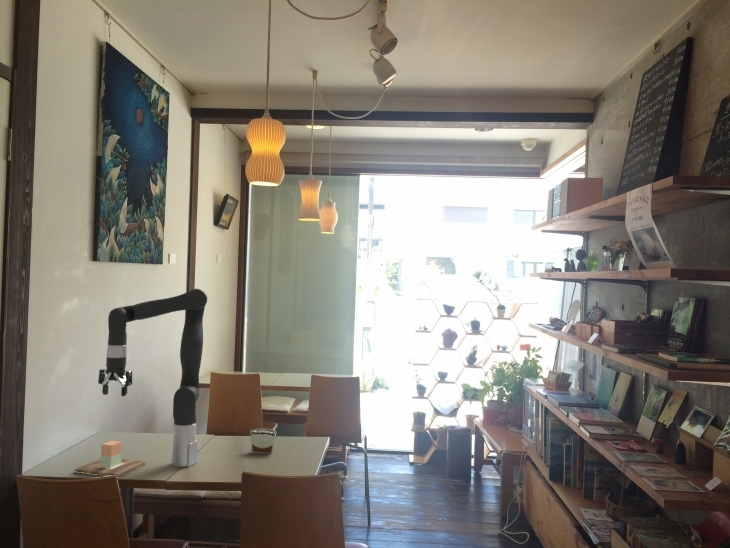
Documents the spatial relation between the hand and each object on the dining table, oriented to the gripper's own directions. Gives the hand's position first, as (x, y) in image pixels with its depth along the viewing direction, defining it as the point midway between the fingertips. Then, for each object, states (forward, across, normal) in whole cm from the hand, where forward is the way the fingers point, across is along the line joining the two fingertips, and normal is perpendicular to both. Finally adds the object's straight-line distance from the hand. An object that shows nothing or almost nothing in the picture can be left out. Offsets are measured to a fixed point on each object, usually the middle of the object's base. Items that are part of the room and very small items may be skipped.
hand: (114, 395), depth 218 cm
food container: (+30, -49, -43) cm, 72 cm away
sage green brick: (+28, 0, 0) cm, 28 cm away
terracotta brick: (+24, 0, 0) cm, 24 cm away
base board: (+30, 0, 0) cm, 30 cm away
